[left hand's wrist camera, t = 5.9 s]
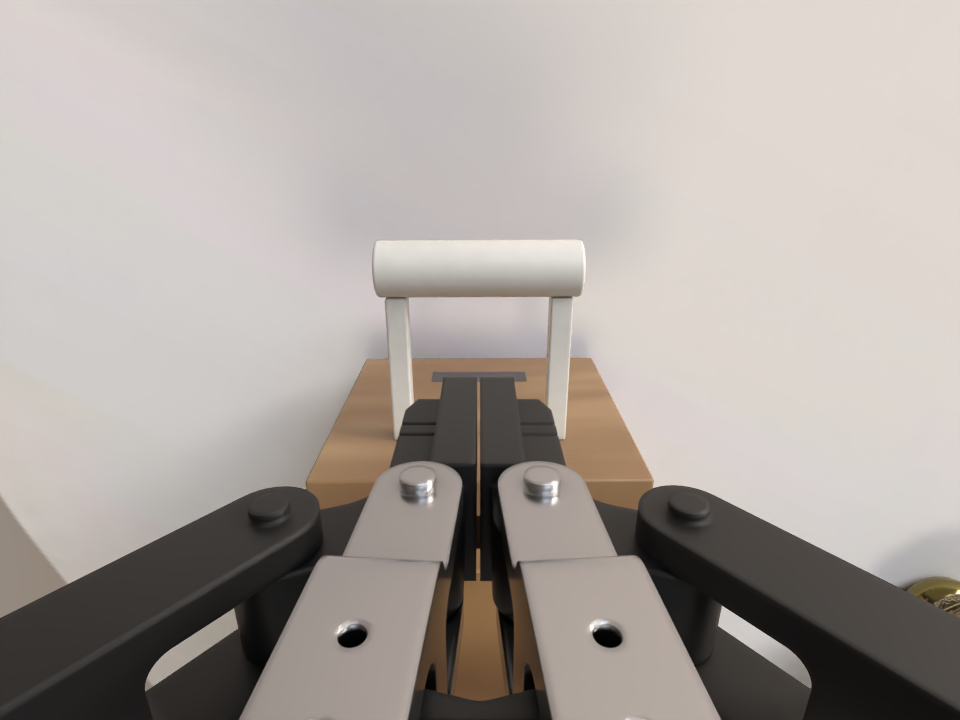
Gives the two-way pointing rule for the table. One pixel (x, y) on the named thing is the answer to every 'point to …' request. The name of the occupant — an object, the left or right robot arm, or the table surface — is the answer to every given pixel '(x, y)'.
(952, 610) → the cup
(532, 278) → the drawer
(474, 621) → the cabinet
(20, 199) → the table surface
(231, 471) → the table surface
